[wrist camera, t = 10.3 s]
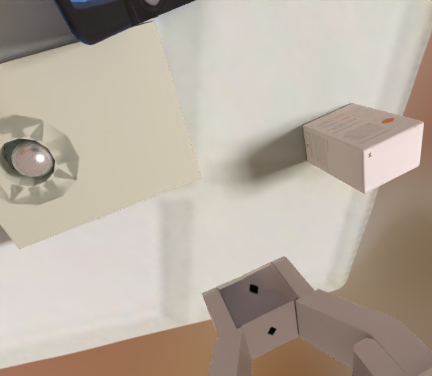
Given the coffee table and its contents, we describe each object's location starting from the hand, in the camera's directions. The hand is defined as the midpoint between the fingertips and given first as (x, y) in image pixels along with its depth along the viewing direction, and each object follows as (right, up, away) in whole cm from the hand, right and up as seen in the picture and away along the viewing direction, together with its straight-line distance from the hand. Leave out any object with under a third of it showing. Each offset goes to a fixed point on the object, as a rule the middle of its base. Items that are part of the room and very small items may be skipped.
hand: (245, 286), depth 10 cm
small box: (+14, +11, +31) cm, 36 cm away
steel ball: (-18, +6, +18) cm, 26 cm away
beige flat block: (-14, +8, +20) cm, 26 cm away
